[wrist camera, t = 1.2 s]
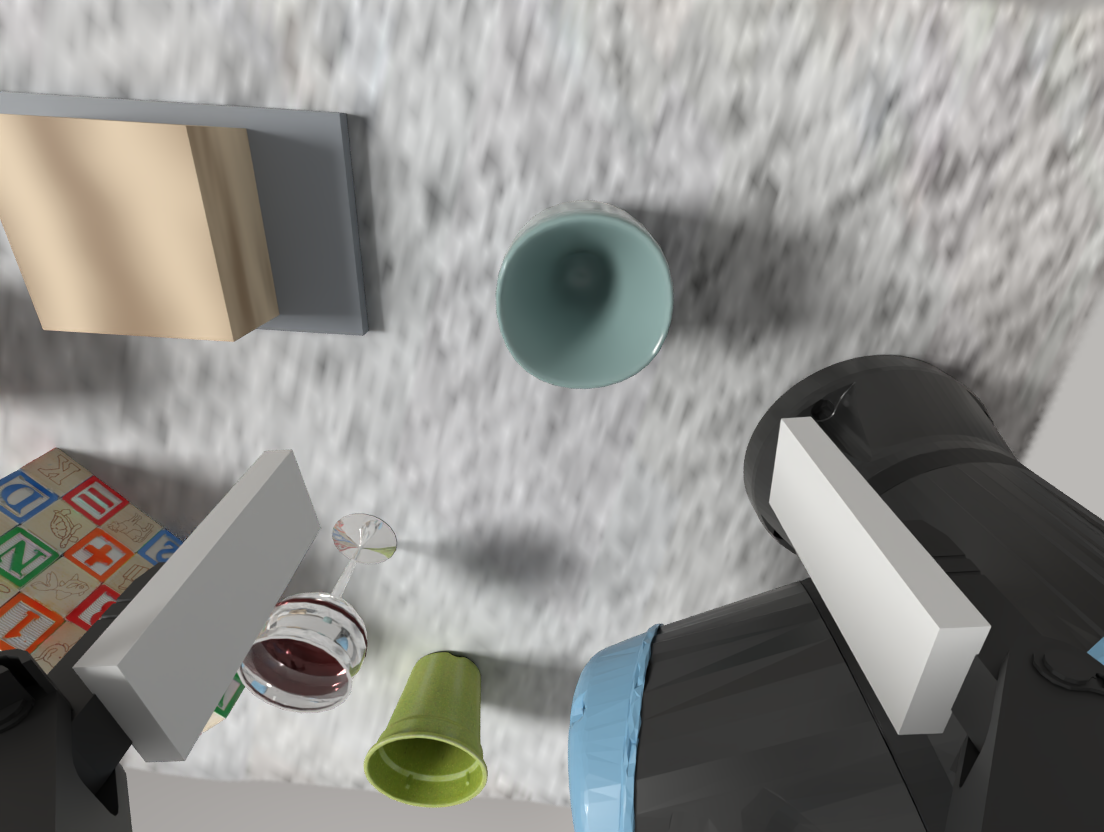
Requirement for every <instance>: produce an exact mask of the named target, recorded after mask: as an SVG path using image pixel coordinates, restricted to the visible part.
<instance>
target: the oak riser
mask: <svg viewBox="0 0 1104 832" xmlns="http://www.w3.org/2000/svg"><path fill="white" fill-rule="evenodd" d="M0 219H1V222H2V225H3V227H4V230H5V232H6V235H7V237H8V240H9V243H10V245H11V248H12V250H13V253H14V256H15V258H16V261H17V263H18V266H19V268H20V271H21V274H22V276H23V279H24V281H25V284H26V287H27V289H28V292H29V294H30V297H31V299H32V302H33V305H34V307H35V310H36V312H37V315H38V318H39V320H40V323H41V325H42V328H43V330H52V331H68V332H85V333H101V334H117V335H133V336H149V337H166V338H182V339H198V340H214V341H231V342H234V341H236V340H238V339H239V338H241V337H243V336H244V335H246V334H248V333H249V332H251V331H253V330H255V329H256V328H258V327H260V326H261V325H263V324H265V323H266V322H268V321H270V320H271V319H273V318H275V317H277V316H278V315H279V309H278V304H277V298H276V293H275V287H274V281H273V276H272V270H271V264H270V259H269V253H268V248H267V242H266V236H265V231H264V225H263V220H262V214H261V208H260V203H259V197H258V192H257V186H256V180H255V175H254V169H253V163H252V158H251V152H250V147H249V141H248V135H247V130H246V128H230V127H214V126H198V125H182V124H166V123H150V122H134V121H118V120H102V119H86V118H70V117H54V116H36V115H17V114H0Z"/></svg>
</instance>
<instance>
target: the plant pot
mask: <svg viewBox="0 0 1104 832" xmlns="http://www.w3.org/2000/svg"><path fill="white" fill-rule="evenodd" d="M480 701H481V675H480V672H479V670H478V668H477V667H476V665H475V664H474V663H473V662H471V661H470V660H469V659H467V658H465V657H455V656H453V655H451V654H450V653H447V652H439V653H433V654H429V655H427V656H424V657H423V658H421V659H420V660H419V661H418V662H417V663H416V665H415V666H414V668H413V670H412V672H411V675H410V677H409V679H408V681H407V684H406V686H405V688H404V691H403V693H402V695H401V697H400V699H399V702H398V704H397V706H396V708H395V710H394V713H393V715H392V717H391V719H390V721H389V724H388V726H387V728H386V730H385V731H384V732H383V733H382V734H381V736H380V737H379V739H378V741H377V743H376V744H375V745H374V746H372V748H371V749H370V750H369V751H368V753H367V755H366V757H365V760H364V772H365V775H366V777H367V779H368V781H369V782H370V783H371V785H373V786H374V787H375V789H377V790H378V791H379V792H381V793H382V794H385V795H386V796H388V797H389V798H391V799H393V800H396V801H399V802H402V803H405V804H409V805H413V806H419V807H447V806H453V805H457V804H462V803H464V802H466V801H469V800H471V799H472V798H474V797H475V796H477V795H478V794H479V793H480V792H481V791H482V789H483V788H484V787H485V785H486V782H487V776H488V771H487V766H486V764H485V762H484V760H483V751H482V747H481V744H480Z"/></svg>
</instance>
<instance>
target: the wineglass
mask: <svg viewBox="0 0 1104 832" xmlns="http://www.w3.org/2000/svg"><path fill="white" fill-rule="evenodd" d="M332 537H333V540H334V544H335V545H336V547H337V548H338V550H339V551H340V552H341V553H342V554H344V555H345V556H346V557H347V558H349V559H351V560H350V561H349V563H348V565H347V567H346V568H345V570H344V572H343V573H342V575H341V577H340V578H339V580H338V582H337V583H336V585H335V587H334V589H333V590H332V592H331V593H326V592H308V593H299V594H295V595H292V596H289V597H286V598H285V599H283V600H282V601H280V602H278V603H277V604H276V606H275V607H274V609H273V611H272V612H271V614H270V616H269V618H268V619H267V621H266V623H265V624H264V626H263V628H262V630H261V631H260V633H259V635H258V636H257V638H256V640H255V642H254V643H253V645H252V647H251V648H250V650H249V652H248V654H247V655H246V657H245V659H244V660H243V662H242V664H241V666H240V667H239V669H238V671H237V673H238V675H239V677H240V680H241V682H242V683H243V684H244V686H245V687H246V688H247V689H248V690H249V691H250V692H251V693H252V694H253V695H255V696H256V697H258V698H259V699H261V700H263V701H264V702H266V703H268V704H270V705H273V706H275V707H278V708H280V709H283V710H288V711H293V712H299V713H318V712H323V711H327V710H331V709H333V708H335V707H337V706H338V705H340V704H342V703H343V702H344V701H345V700H346V699H347V697H348V696H349V695H350V693H351V688H352V679H353V678H354V676H355V675H356V674H357V672H358V671H359V669H360V668H361V666H362V665H363V663H364V658H365V657H366V650H367V631H366V628H365V624H364V621H363V620H362V619H361V617H360V616H359V615H358V613H357V612H356V611H355V609H354V608H353V607H352V606H351V604H349V603H348V602H347V601H346V600H344V599H343V598H341V597H342V595H343V592H344V590H345V588H346V586H347V583H348V581H349V579H350V576H351V574H352V572H353V570H354V567H355V565H356V563H357V562H359V563H364V564H377V563H380V562H384V561H386V560H387V559H388V558H390V557H391V556H392V555H393V553H394V552H395V550H396V544H397V542H396V537H395V534H394V533H393V531H392V530H391V528H390V527H389V526H388V525H387V524H386V523H385V522H383V521H382V520H380V519H378V518H376V517H374V516H371V515H366V514H351V515H348V516H345V517H343V518H342V519H340V520H339V521H338V522H337V523H336V525H335V526H334V528H333V535H332Z"/></svg>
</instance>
